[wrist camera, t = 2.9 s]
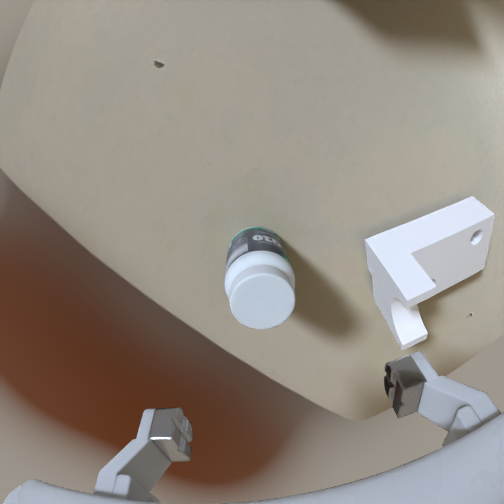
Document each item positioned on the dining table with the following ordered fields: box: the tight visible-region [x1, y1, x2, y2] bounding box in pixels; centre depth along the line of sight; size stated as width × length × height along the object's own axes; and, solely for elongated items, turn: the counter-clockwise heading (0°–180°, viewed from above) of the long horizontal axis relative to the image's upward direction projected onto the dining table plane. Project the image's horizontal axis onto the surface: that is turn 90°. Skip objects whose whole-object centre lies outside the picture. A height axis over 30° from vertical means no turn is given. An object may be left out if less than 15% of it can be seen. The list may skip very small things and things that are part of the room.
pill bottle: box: [225, 227, 295, 329], centre depth 22 cm, size 5×5×8 cm
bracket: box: [365, 196, 495, 350], centre depth 23 cm, size 13×7×8 cm, turn 111°
